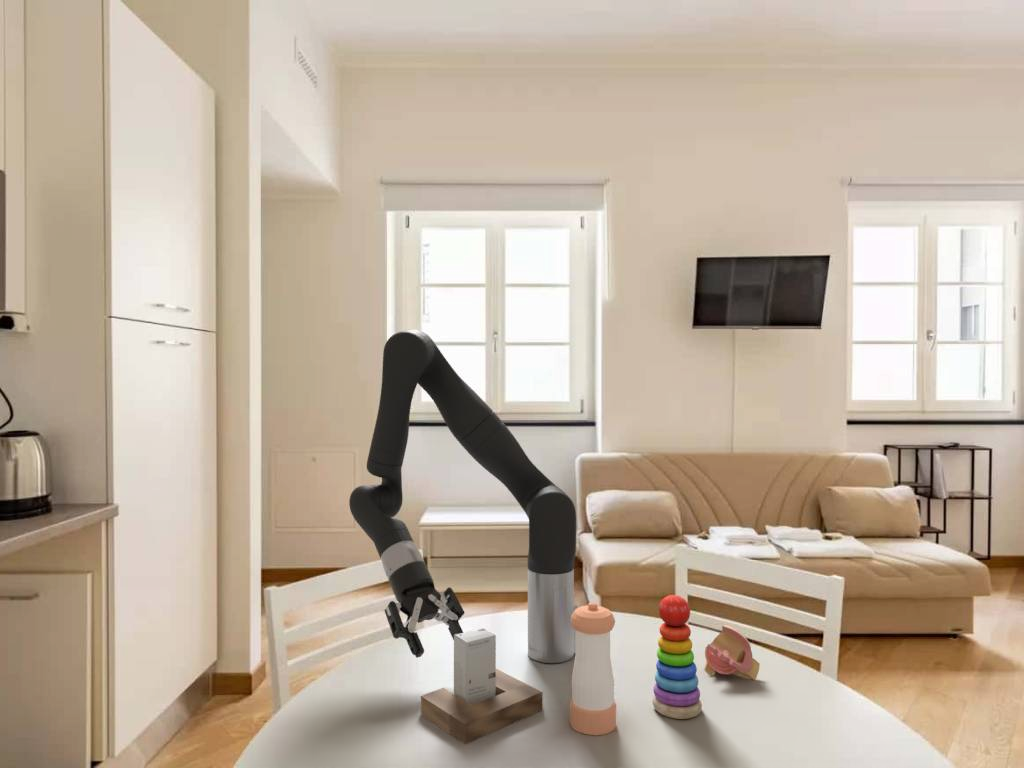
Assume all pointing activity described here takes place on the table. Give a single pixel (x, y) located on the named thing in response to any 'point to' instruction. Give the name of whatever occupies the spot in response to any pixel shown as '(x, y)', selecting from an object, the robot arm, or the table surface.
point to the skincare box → (475, 665)
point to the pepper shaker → (592, 672)
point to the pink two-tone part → (731, 655)
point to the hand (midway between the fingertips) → (441, 648)
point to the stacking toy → (676, 663)
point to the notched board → (482, 708)
